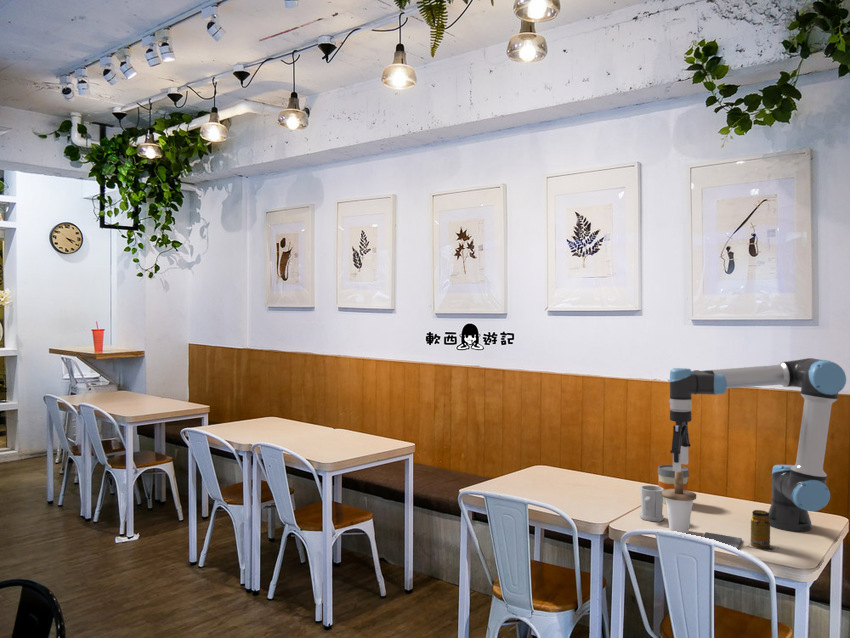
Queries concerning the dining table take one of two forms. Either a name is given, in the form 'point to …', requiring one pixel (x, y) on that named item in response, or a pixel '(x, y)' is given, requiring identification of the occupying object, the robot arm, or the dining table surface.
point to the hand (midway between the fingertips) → (680, 467)
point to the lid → (678, 490)
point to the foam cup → (679, 514)
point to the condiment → (761, 531)
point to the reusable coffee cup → (670, 478)
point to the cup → (651, 503)
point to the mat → (724, 539)
